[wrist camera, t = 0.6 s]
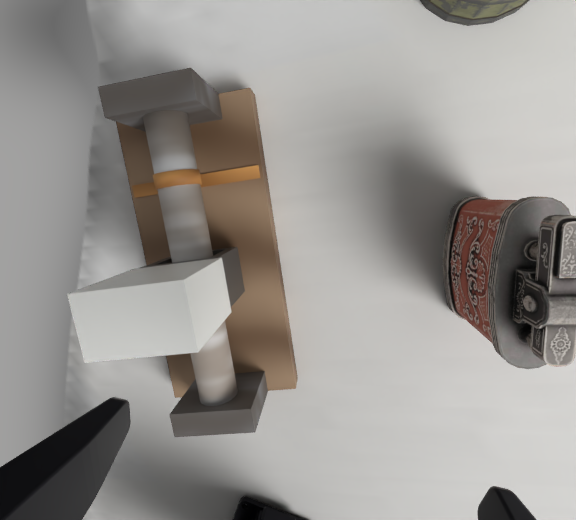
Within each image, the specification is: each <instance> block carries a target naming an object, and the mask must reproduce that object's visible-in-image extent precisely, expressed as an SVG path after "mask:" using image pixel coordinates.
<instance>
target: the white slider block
mask: <svg viewBox="0 0 576 520" xmlns="http://www.w3.org/2000/svg"><path fill="white" fill-rule="evenodd" d="M212 252H213V256H212V257H210V258H204V259H196V260H189V261H181V262H173V263H172V259H171V256H170V257H167V258H165V259H162V260H159V261H157V262H154V263H152V264H149V265H146V266H144V267H141V268H138V269H132V270H130V271H127V272H124V273H122V274H119V275H116V276H114V277H111V278H108V279H106V280H103V281H100V282H98V283H95V284H92V285H90V286H87V287H84V288H82V289H79V290H76V291H74V292H71V293H69V294H67V296H68V300H69V303H70V307H71V311H72V315H73V319H74V323H75V327H76V331H77V335H78V339H79V343H80V347H81V351H82V355H83V358H84V362H85V363H90V362H100V361H111V360H122V359H133V358H144V357H154V356H165V355H176V354H187V353H198V352H199V351H200V350H201V348H202V347H203V346H204V345H205V344H206V342H207V341H208V340H209V339H210V338H211V336H212V335H213V334H214V333H215V332H216V330H217V329H218V328H219V327H220V325H221V324H222V323H223V322H224V321H225V319H226V318H227V317H228V316H229V315H230V313H231V307H232V305H233V304H234V303H235V302H236V301H237V300H238V299H239V297H240V296H241V295H242V294H243V293H244V292H245V288H244V283H243V277H242V271H241V265H240V259H239V253H238V247H231V248H223V249H216V250H212Z"/></svg>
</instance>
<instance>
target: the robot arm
mask: <svg viewBox="0 0 576 520" xmlns="http://www.w3.org/2000/svg"><path fill="white" fill-rule="evenodd" d="M129 427H130V409H129V402H128V401H127V400H124V399H120V398H116V397H113V398H110V399H108V400H106V401H105V402H103V403H102V404H100V405H98V406H97V407H95V408H94V409H92V410H90V411H89V412H87V413H86V414H84V415H83V416H81V417H79V418H78V419H76V420H75V421H73V422H71V423H70V424H68V425H67V426H65V427H63V428H62V429H60V430H59V431H57V432H56V433H54V434H53V435H51V436H49V437H48V438H46V439H44V440H43V441H41V442H40V443H38V444H37V445H35V446H34V447H32V448H30V449H29V450H27V451H25V452H24V453H22V454H21V455H19V456H17V457H16V458H14V459H13V460H11V461H9V462H8V463H6V464H5V465H3V466H2V467H0V520H82V519H83V517H84V515H85V514H86V512H87V510H88V509H89V507H90V506H91V504H92V502H93V500H94V499H95V497H96V495H97V493H98V491H99V490H100V488H101V486H102V484H103V482H104V480H105V478H106V476H107V474H108V472H109V469H110V467H111V465H112V463H113V461H114V459H115V457H116V455H117V453H118V451H119V449H120V447H121V445H122V443H123V441H124V439H125V437H126V435H127V433H128V430H129ZM245 504H247V505H245ZM233 520H303V519H300V518H298V517H295V516H293V515H291V514H288V513H286V512H283V511H281V510H278V509H276V508H273V507H271V506H268V505H266V504H263V503H261V502H258V501H256V500H254V499H251V498H249V497H242V498H241V499H240V502H239V504H238V507H237V509H236V512H235V514H234V517H233ZM478 520H536V519H535V517H534V516H533V515H532V514H531V513H530V511H529V510H528V509H527V508H526V507H525V505H524V504H523V503H522V502H521V501H520V499H519V498H518V497H517V496H516V495H515V494H514V493H513V492H512V491H511V490H508V489H505V488H501V487H496V486H493V487H490V489H489V490H488V492H487V493H486V495H485V496H484V498H483V500H482V501H481V503H480V504H479V507H478Z"/></svg>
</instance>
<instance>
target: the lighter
mask: <svg viewBox="0 0 576 520" xmlns="http://www.w3.org/2000/svg"><path fill="white" fill-rule="evenodd" d="M443 277H444V287H445V292H446V298H447V304H448V306H449V308H450V309H451V310H452V311H453V312H454V313H455V314H456V315H457V316H458V317H460V318H462V319H464V320H467V321H468V322H469V323H470V324H471V325H472V326H474V327H475V328H476V329H477V330H478V331H479V332H480V333H481V334H483V335H484V336H485V337H486V338H487V339H488V340H489V341H490V342H492V343H493V346H494V348H495V350H496V352H497V353H498V354H499V355H500V356H501V357H503V358H504V359H505V360H506V361H507V362H508V363H509V364H511V365H513V366H516V367H518V368H525V369H532V368H539V367H541V366H544V365H546V364H548V365H550V366H567V365H569V364H571V363H572V362H573V361H574V358H575V353H576V216H571V214H570V212H569V209H568V208H567V207H566V206H565V205H564V204H563V203H562V202H561V201H558V200H556V199H554V198H549V197H527V198H522V199H519V200H490V199H488V198H486V197H467V198H464V199H462V200H460V201H458V202H457V203H456V204H455V205H454V206H453V208H452V210H451V212H450V217H449V221H448V225H447V230H446V234H445V242H444V251H443Z"/></svg>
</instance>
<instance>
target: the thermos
mask: <svg viewBox="0 0 576 520" xmlns="http://www.w3.org/2000/svg"><path fill="white" fill-rule="evenodd" d="M420 1H421V2H422V3H423V5H424V6H425V7H426V9H428V10H429V11H431V12H433V13H434V14H436V15H437V16H439V17H440V18H442V19H443V20H445V21H449V22H453V23H458V24H462V25H467V26H469V25H478V24H486V23H493V22H495V21H497V20H499V19H501V18H504V17H506V16H508V15H510V14H513V13H515V12H516V11H517V10H519V9H520V8H521V7H522V6H523V5H525V4H526V3H527V2H528V1H529V0H420Z"/></svg>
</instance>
